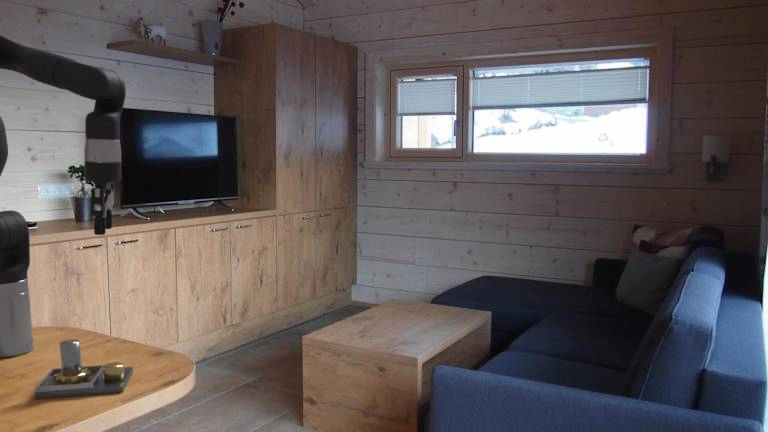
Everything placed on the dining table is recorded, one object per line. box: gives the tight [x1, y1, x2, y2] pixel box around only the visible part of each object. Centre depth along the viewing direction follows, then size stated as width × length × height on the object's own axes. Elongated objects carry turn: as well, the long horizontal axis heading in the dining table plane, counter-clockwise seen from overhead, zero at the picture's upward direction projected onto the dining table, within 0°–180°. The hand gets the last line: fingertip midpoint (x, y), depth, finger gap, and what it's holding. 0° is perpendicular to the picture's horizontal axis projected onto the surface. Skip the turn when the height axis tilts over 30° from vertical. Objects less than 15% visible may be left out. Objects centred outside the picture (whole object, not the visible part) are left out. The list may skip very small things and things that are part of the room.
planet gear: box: [54, 338, 91, 385], centre depth 132 cm, size 7×7×8 cm
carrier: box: [34, 361, 134, 400], centre depth 132 cm, size 16×11×4 cm
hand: (103, 231), depth 147 cm, fingers open, 8 cm apart
